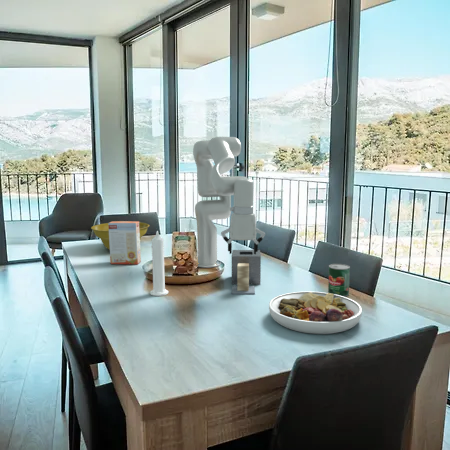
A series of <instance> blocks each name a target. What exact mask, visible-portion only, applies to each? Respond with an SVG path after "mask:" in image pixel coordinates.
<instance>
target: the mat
mask: <svg viewBox="0 0 450 450" xmlns="http://www.w3.org/2000/svg"><path fill="white" fill-rule="evenodd" d="M231 288H232V289H231V295H256V288H255V285H249V291H237V285H232V287H231Z"/></svg>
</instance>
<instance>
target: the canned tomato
mask: <svg viewBox="0 0 450 450" xmlns="http://www.w3.org/2000/svg"><path fill="white" fill-rule="evenodd" d="M350 269H351V266H350V265H348V264H345V263H344V264H343V263H332V264H329V265H328V288H327V289H328V292H327V293H331V294H336V295H340V296H343V297H348V296H349V295H350V271H351V270H350Z"/></svg>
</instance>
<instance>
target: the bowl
mask: <svg viewBox="0 0 450 450" xmlns="http://www.w3.org/2000/svg"><path fill="white" fill-rule="evenodd" d="M268 310H269V313H270V316H271V318H272V319H273V320H274V321H275V322H276V323H278V324H279V325H281V326H283V327H284V328H286V329H290V330H292V331H296V332H300V333H305V334H311V335H329V334H338V333H342V332H345V331H349V330H350V329H352V328H354V327H355V326H356V325H357V324H358V323H359V322H360V320H361V318H362V313H363V312H362V311H363V309H362V306H361V305H360V304H359V303H358V302H357V301H355V300H353V299H351V298H348V297H347V296H345V297H343V296H340V295H336V294H331V293H328V292H321V291H295V292H287V293H283V294H280V295H278V296H275V297H273V298H271V300H270V301H269V304H268Z"/></svg>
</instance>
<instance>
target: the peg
mask: <svg viewBox="0 0 450 450" xmlns="http://www.w3.org/2000/svg"><path fill="white" fill-rule="evenodd" d="M236 286H237V291H249V286H250V284H249V263H238V266H237V284H236Z"/></svg>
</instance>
